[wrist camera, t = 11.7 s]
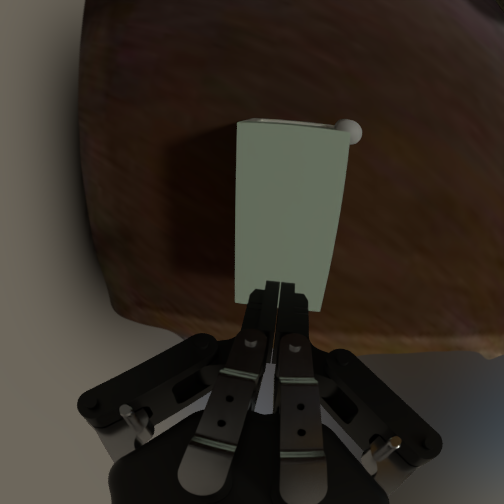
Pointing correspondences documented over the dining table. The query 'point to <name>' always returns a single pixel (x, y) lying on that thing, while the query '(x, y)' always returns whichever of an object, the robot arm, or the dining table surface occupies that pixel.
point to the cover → (288, 204)
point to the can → (501, 4)
